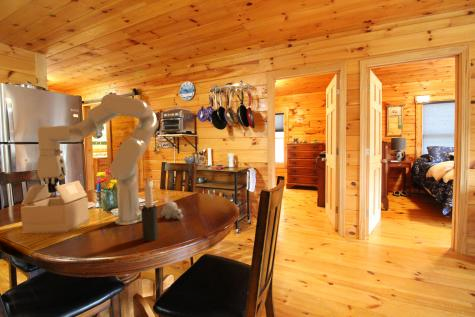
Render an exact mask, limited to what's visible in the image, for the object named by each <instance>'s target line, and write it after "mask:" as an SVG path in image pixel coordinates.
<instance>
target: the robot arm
mask: <svg viewBox="0 0 475 317" xmlns="http://www.w3.org/2000/svg"><path fill="white" fill-rule="evenodd" d="M121 115H122V116H126V117H132V118H136V119H138V124H137V125H136V126H135V128H134V131H133V133H132V135H131V137H129V138H126V139H124V141H122V142H121V144H120V146H119V148H118V150H117V151H116V153H115V156H114V158H113V160H112V162H111V164H110V167H109V172H110V175H111V176H112V178H113V179H115V180H116V195H117V214H118V217H117V218H116V219H115V221H114V223H115V225H121V226H124V225H125V226H126V225H133V224H136V223H137V224H138V223H139V222H142V210H141V209H140V199H139V196H140V195H139V165H138V161H139V159H140V158H141V157H142V156H144V154H145V153H146V152H147V149H148V147H149V144H150V142H151V140H152V139H153V138H152V137H153V135H154V133H155V131H156V127H157V125H158V120H157V114H156V113H155V111H154V110H153V109H152V107H151V106H150V105H149V104H148V103H147V102H146V101H144V100H142V99H138V98H134V97H131V96H125V95H120V94H117V93H107V94H105V95H103V97H102V98H101V99H100V103H99V104H98V105H96V106H95V107H92V108H91V109H89V110H87V113H86V117H85V118H84V119H83V120H81V121H80V122H78V123H77V124H75V125H73V126H70V125H56V126H53V125H52V126H50V125H42V126H38V128H37V138H38V140H37V141H38V152H39V156H38V158H37V163H36V164H37V165H36V166H37V169H36V170H37V177H39V178H38V179H39V180H40V181H43V182H45V184H48V192H49V193H51V194H54V193H56V192H57V193H58V191H57V190H56V188H55V186H58V183H59V182H60V181H61V180H65V176H66V175H67V170H66V169H67V168H66V164H65V159H64V157H63V155H61V154H63V150H61V144H60V142H61V143H77V142H79V141H82V140H83V139H85V138H87V137H89V136H91V135H92V134H93V133H95V132H96V131H97V130H99V129H100V128H101V126H104V125H105V124H107V123H108V122H110V121H112V120H113V119H115V118H118V117H119V116H121Z"/></svg>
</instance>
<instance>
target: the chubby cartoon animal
mask: <svg viewBox="0 0 475 317" xmlns="http://www.w3.org/2000/svg"><path fill="white" fill-rule="evenodd" d="M162 207H163V208H162V210H161V212H160V216H162V217H165V219H166V220H170V219H171V218H174V217H175V218H177V220H182V219H183V217H184V214H183V213H182V210H183V208H178V205H177V203H176V202H175V201H173V200H169V201H167V202H165V203H163V206H162Z"/></svg>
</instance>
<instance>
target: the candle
mask: <svg viewBox="0 0 475 317" xmlns="http://www.w3.org/2000/svg"><path fill="white" fill-rule="evenodd" d="M146 179H147V180H146V183H145V184H144V187H143V188H144V205H143V206H142V208H141V209H140V210H141V212H142V220H141V226H142V230H141V232H142V241H143V242H154V241H156V240H157V239H158V238H159V224H158V223H159V222H158V221H159V220H158V207H157V205H156V204H154V198H153V197H154V194H153V184H151V180H150V177H147V178H146Z"/></svg>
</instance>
